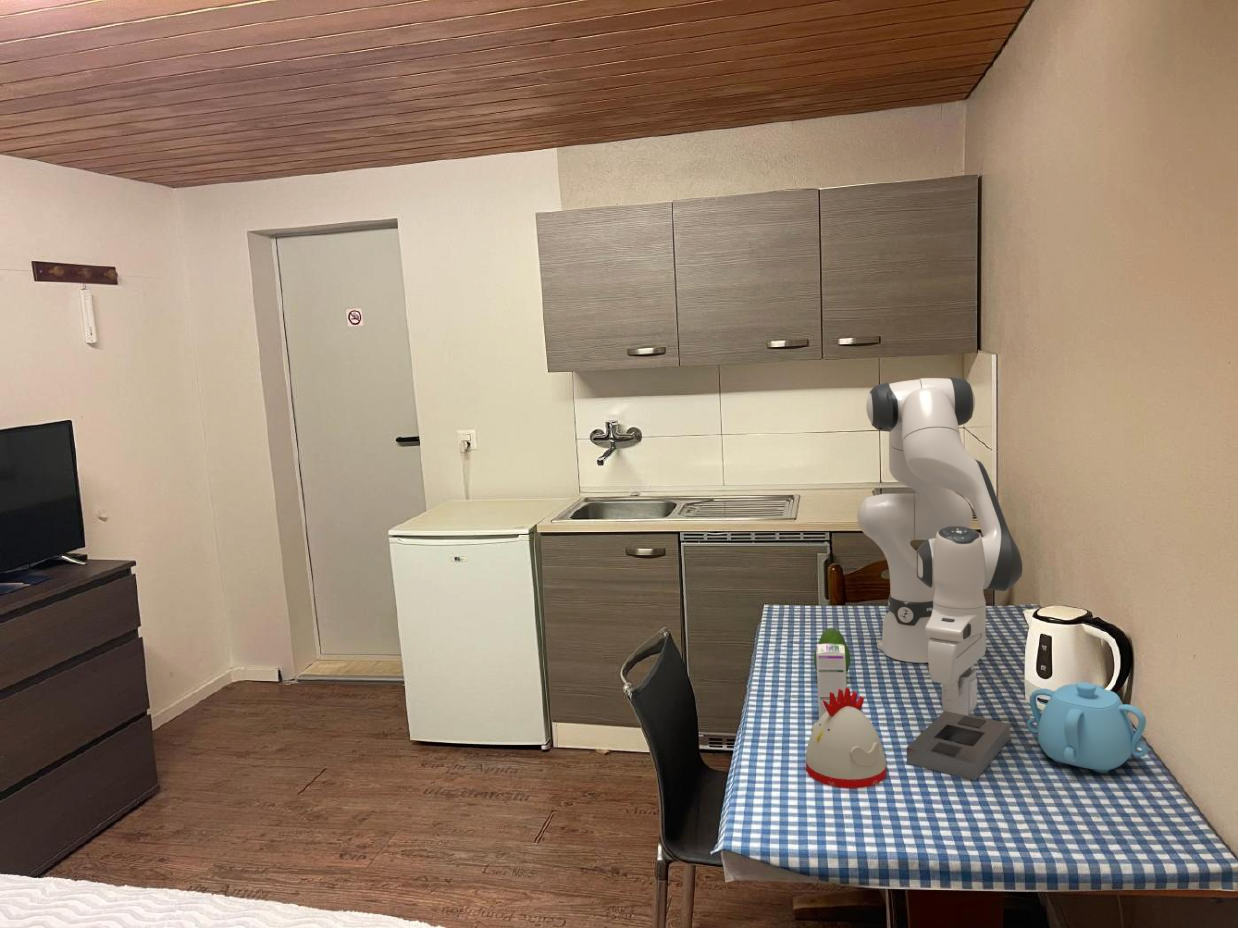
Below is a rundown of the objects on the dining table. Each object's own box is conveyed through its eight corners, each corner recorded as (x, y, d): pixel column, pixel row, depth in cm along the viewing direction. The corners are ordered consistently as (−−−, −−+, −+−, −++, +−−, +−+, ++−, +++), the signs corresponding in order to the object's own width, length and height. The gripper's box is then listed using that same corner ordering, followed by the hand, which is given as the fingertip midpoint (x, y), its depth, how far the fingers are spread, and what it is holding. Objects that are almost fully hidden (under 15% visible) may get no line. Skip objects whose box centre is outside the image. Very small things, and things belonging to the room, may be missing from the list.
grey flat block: (945, 724, 177) (945, 709, 177) (1009, 738, 170) (1009, 722, 169) (906, 763, 162) (906, 746, 161) (975, 780, 154) (975, 763, 154)
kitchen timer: (790, 762, 164) (788, 683, 162) (852, 746, 169) (851, 669, 168) (837, 795, 151) (836, 709, 150) (903, 777, 157) (902, 694, 155)
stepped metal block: (948, 702, 168) (948, 665, 167) (978, 707, 164) (978, 670, 164) (940, 709, 164) (940, 672, 164) (970, 716, 161) (970, 678, 160)
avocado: (836, 688, 198) (835, 635, 197) (807, 680, 204) (806, 628, 203) (857, 679, 203) (857, 627, 202) (828, 671, 209) (827, 620, 208)
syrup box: (848, 723, 180) (847, 652, 178) (817, 721, 181) (816, 651, 179) (846, 711, 186) (845, 643, 184) (817, 710, 187) (816, 642, 185)
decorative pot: (1156, 779, 152) (1159, 701, 150) (1058, 780, 153) (1060, 703, 151) (1109, 738, 168) (1111, 667, 167) (1020, 739, 169) (1021, 669, 167)
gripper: (960, 602, 172) (960, 672, 174) (921, 629, 157) (921, 706, 158) (995, 606, 169) (994, 678, 170) (958, 635, 153) (958, 714, 154)
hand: (959, 692), depth 164 cm, fingers closed on stepped metal block, 4 cm apart
